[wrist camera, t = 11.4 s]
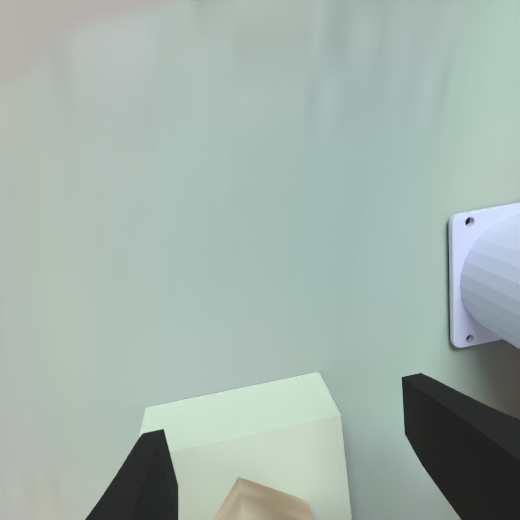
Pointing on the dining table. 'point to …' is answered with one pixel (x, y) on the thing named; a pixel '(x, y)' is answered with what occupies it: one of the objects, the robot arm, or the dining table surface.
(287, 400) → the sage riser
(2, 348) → the dining table surface
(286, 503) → the maple block
